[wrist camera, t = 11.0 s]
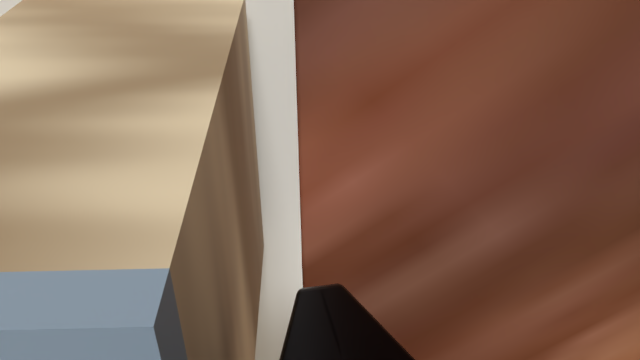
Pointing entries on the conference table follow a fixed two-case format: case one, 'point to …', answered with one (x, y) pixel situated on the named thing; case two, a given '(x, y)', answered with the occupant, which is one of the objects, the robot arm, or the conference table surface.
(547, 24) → the conference table surface
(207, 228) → the maple block
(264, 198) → the mat
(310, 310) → the robot arm
